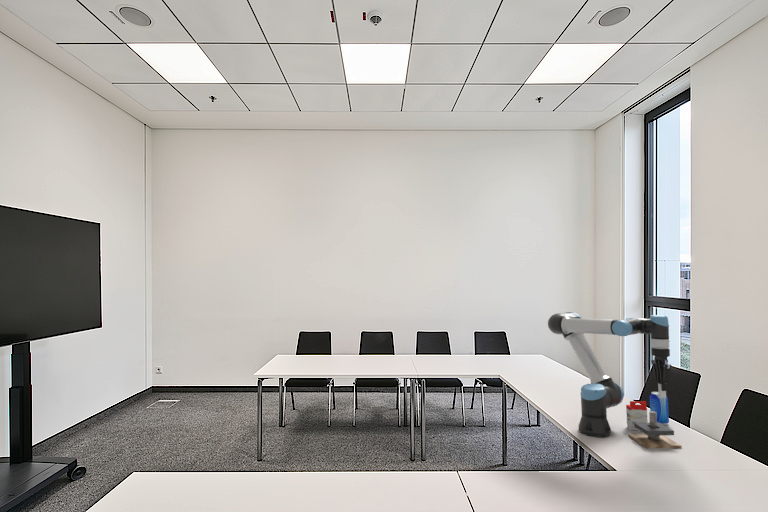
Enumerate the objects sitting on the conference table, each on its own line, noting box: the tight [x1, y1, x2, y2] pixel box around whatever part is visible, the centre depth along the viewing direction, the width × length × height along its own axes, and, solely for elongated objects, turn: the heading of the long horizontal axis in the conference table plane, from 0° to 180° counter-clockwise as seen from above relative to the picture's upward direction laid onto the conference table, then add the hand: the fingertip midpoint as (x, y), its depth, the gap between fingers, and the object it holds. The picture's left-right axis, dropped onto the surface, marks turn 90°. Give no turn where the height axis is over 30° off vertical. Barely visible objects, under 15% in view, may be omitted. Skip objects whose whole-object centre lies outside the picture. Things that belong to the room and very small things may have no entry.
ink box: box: [625, 400, 649, 431], centre depth 236 cm, size 8×5×15 cm, turn 84°
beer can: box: [649, 391, 670, 426], centre depth 244 cm, size 8×8×16 cm
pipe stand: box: [628, 410, 683, 449], centre depth 217 cm, size 16×16×14 cm
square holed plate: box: [634, 422, 675, 436], centre depth 217 cm, size 12×12×2 cm
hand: (662, 397), depth 218 cm, fingers closed
